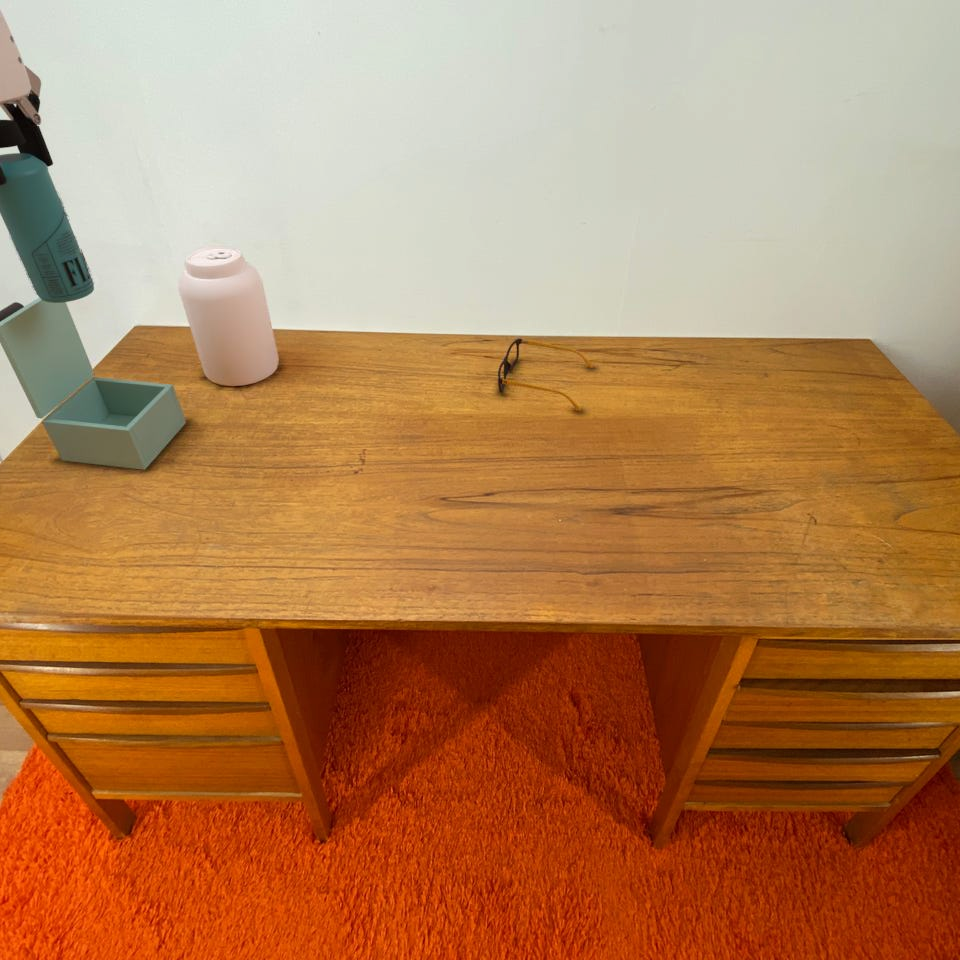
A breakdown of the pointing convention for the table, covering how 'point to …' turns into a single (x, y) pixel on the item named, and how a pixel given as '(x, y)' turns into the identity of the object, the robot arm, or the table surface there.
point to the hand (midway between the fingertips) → (16, 172)
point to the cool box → (115, 423)
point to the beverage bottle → (40, 224)
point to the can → (228, 316)
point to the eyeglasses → (503, 381)
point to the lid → (44, 352)
